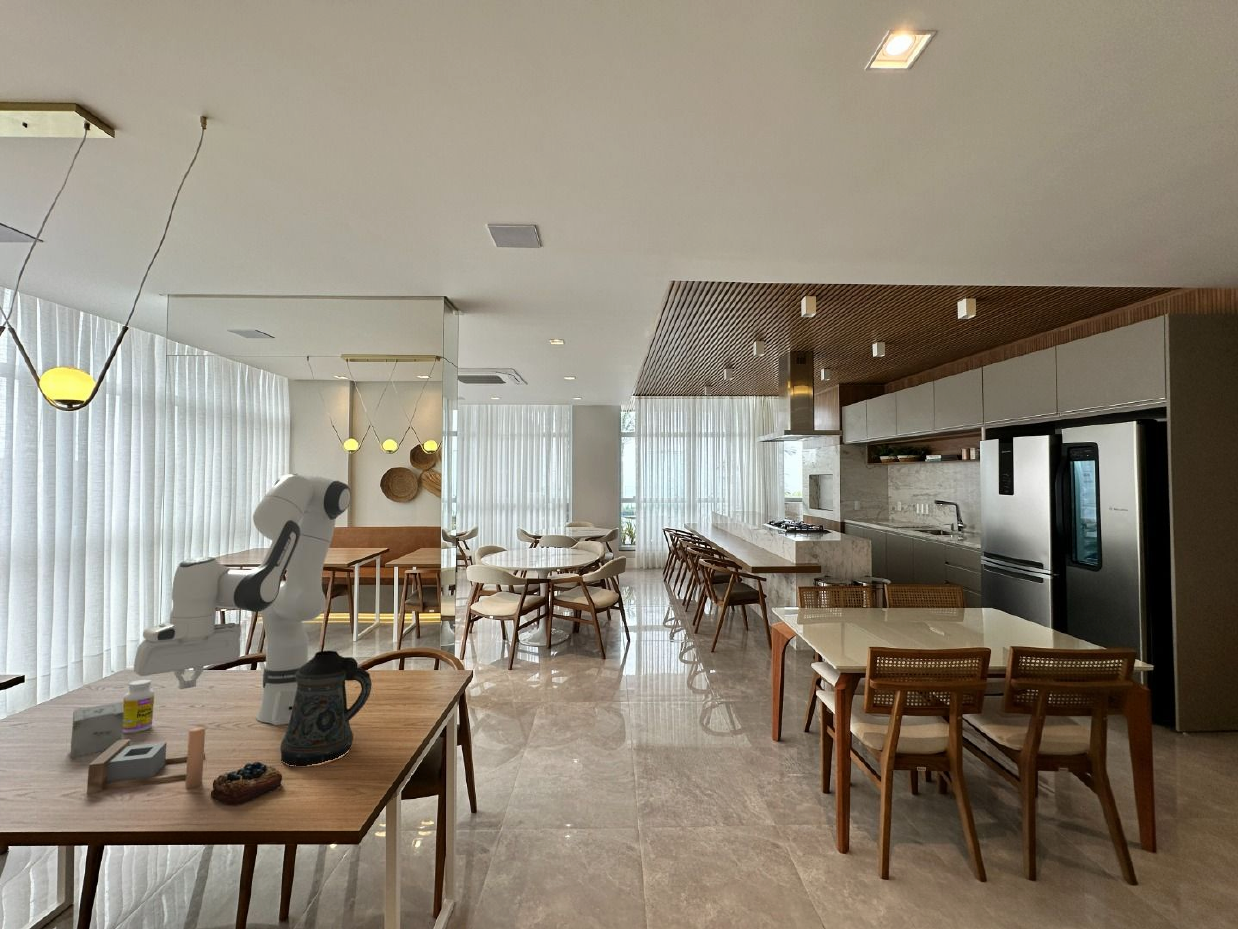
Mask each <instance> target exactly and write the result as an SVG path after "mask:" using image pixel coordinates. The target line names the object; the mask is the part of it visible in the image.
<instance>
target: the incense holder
mask: <svg viewBox="0 0 1238 929" xmlns="http://www.w3.org/2000/svg"><path fill="white" fill-rule="evenodd" d="M72 715H73V716H72V730H71V739H70V753H69V754H70V755H69V759H76V758H79V757H80V758H81V757H82V756H84V755H90V754H95V753H99V752H104V751H106V750H107V749H108V748H109V747H110V746H112V745H113V744H114V743H115V742H116V741H118V740H123V732H122V731H123V720H124V708H123V701H119V702H118V701H117V702H112V703H108V704H102V705H100V704H99V705H96V706H90V707H89V706H88V707H81V708H77V709H76V708H75V709H74V711H73V713H72Z"/></svg>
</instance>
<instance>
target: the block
mask: <svg viewBox="0 0 1238 929" xmlns="http://www.w3.org/2000/svg"><path fill="white" fill-rule="evenodd" d="M166 756H167V741H164V742H155V743H146V744H144V743H143V744H138V745H137V744H135V745H130V746H126V747H125V748H124V749H122V750H121V751H120V752H119V753H118V754H117V755H116V756H115V757H114V758H112V759H111V760H110V761H109V762H108V773H107V783H108V782H116V781H124V780H132V779H140V778H148V777H155V776H156V774H157V773H158V772H159V771H160V770H161V769H162V768H163V767H164V765H165V759H166V758H167V757H166Z"/></svg>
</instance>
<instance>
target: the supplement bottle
mask: <svg viewBox="0 0 1238 929" xmlns="http://www.w3.org/2000/svg"><path fill="white" fill-rule="evenodd" d="M128 685H129V686H128V688H129V691H128V692H127V693H125V694H124V696H123V701H122V702H123V708H124V720H123V731H122V734H123V733H124V734H135V733H140V732H144V731H147V730H149V729H151V727H152V726H153V717H154V716H153V715H154V704H155V702H154V701H155V690H153V689H151V688H150V687H151V686H152V680H151V679H138V680H133V681H131V682H130V683H129V684H128Z"/></svg>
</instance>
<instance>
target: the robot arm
mask: <svg viewBox="0 0 1238 929" xmlns="http://www.w3.org/2000/svg"><path fill="white" fill-rule="evenodd" d="M351 499H352V490H351V489H350V487H349V484H347V483H345V482H342V481H340V480H333V479H329V478H326V477H322V476H313V475H303V474H302V475H300V474H297V473H289V474H288V473H287V474H284V475H282V476H281V477H279V478H278V479H277V480H276V481H275V483H274V485H273V487H272V488H271V489H270V490H269V491H267V493H266V494H265V496H264V497H263V498H262V500H261V501H260V502H259V504H258V505H257V507H256V508H255V510H254V512H253V516H252V519H253V520H252V521H253V525H254V526H255V528H256V529H257V531H258V532H259V533H260V534H261V535H262V536H264V537H265V538H267V539H268V540H271V543H270V546H269V547H268V550H267V552H266V554H265V556H264V559H263V560H262V562H261V564H260V565H259V566H257V567H256V568H252V569H238V568H231V567H228V566H225V565H224V564H222V563H220V562H218V560H217V558H215V557H213V556H212V557H211V556H200V557H193V558H188V559H186V560H183V561H181V562H180V563H179V564H178V566H177V568H176V570H175V573H174V576H173V583H172V589H171V590H172V591H171V600H172V609H171V611H170V614H169V620H166V621H164V622H161V623H159V624H156V625H153V626H150V627H147V628H146V629H144V630H143V632H142V637H143V638H144V639H145V640H143V641H142V642H140V644H139V645H138V646H137V650H136V654H135V657H134V663H133V671H134V673H135V674H136V675H138V676H140V677H146V676H147V677H148V676H151V675H152V676H153V675H159V674H165V673H170V672H173V674H174V676H175V678H176V679H177V680H178V689H179V690H185V689H189V688H196V687H197V680H198V679H199V677H200V676H201V674H202V673H203V672H204V667H207V666H213V665H220V664H225V663H232V662H236V661H237V660H238V659H239V658H240V655H241V646H240V645H241V644H240V638H241V634H242V627H241V626H240V625H239V624H237V623H235V622H228V623H217V624H216V619H217V618H216V617H217V608H223V609H230V610H231V609H232V610H242V611H248V612H252V613H253V612H255V613H258V612H260V615H261V619H262V624H263V627H264V628H263V629H264V632H265V639H266V640H265V641H266V642H265V643H266V653H265V667H264V669H263V672H262V688H263V691H262V697H261V702H260V706H259V709H258V712H257V714H256V720H257V721H258V722H261V723H262V722H263V723H267V724H268V723H269V724H271V725H273V726H281V725H287V724H288V725H289V721H290V718H291V714H292V709H293V704H294V699H295V695H296V690H297V682H296V678H295V674H296V672H297V671H298V670H299V669H300V668H301V667H302V666H303V665H305V664H306V663H307V662H309V643H310V642H309V641H310V640H309V636H308V633H307V632H306V630H305V628H304V625H303V622H307V621H311V620H312V621H313V620H315V619H316V618H318V617H319V616H320V615H321V614H322V613H323V611H324V609H325V608H326V605H327V604H326V602H327V601H326V600H327V599H326V595H325V593H324V591H323V583H322V582H323V580H322V579H323V569H324V564H325V560H326V558H327V554H328V552H329V550H330V546H331V542H332V540H333V535H334V533H335V532H334V531H335V525H336V519H337V518H338V517H339V516H340V515H342V514H343V513H345V511H346V510H347V509H348V507H349V506H350V503H351ZM285 572H286V576H285V580H283V578H284V575H285ZM188 669H192V670H193V671H194V672H193V673H192V676H191V677H190V678H184V676H183V675H184V674H185V672H186V670H188Z"/></svg>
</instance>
